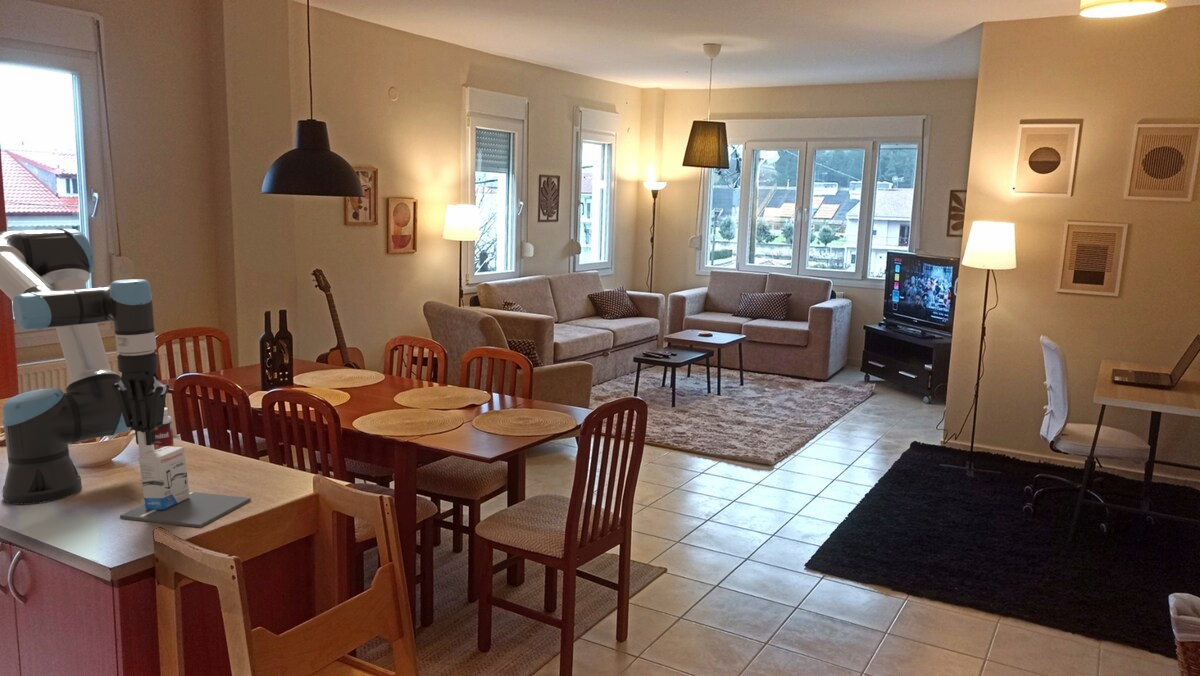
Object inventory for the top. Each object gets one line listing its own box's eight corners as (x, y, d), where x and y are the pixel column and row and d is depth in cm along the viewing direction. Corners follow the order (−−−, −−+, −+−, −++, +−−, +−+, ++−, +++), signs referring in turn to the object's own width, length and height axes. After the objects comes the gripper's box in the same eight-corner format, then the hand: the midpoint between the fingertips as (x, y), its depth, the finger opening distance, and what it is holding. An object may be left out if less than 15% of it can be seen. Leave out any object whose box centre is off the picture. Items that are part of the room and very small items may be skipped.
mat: (120, 518, 181) (119, 514, 180) (175, 492, 196) (175, 489, 196) (200, 527, 175) (200, 524, 175) (250, 500, 191) (250, 497, 191)
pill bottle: (146, 453, 225) (142, 413, 223) (149, 447, 230) (145, 407, 228) (173, 451, 227) (169, 410, 225) (175, 444, 233) (171, 405, 231)
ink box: (163, 510, 182) (157, 457, 181) (144, 509, 184) (137, 456, 182) (191, 496, 191) (185, 445, 189) (172, 496, 192) (165, 445, 190)
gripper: (97, 354, 180) (109, 462, 184) (148, 356, 177) (159, 466, 181) (125, 348, 187) (136, 452, 191) (175, 350, 184) (185, 456, 188)
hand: (147, 458), depth 186 cm, fingers closed
